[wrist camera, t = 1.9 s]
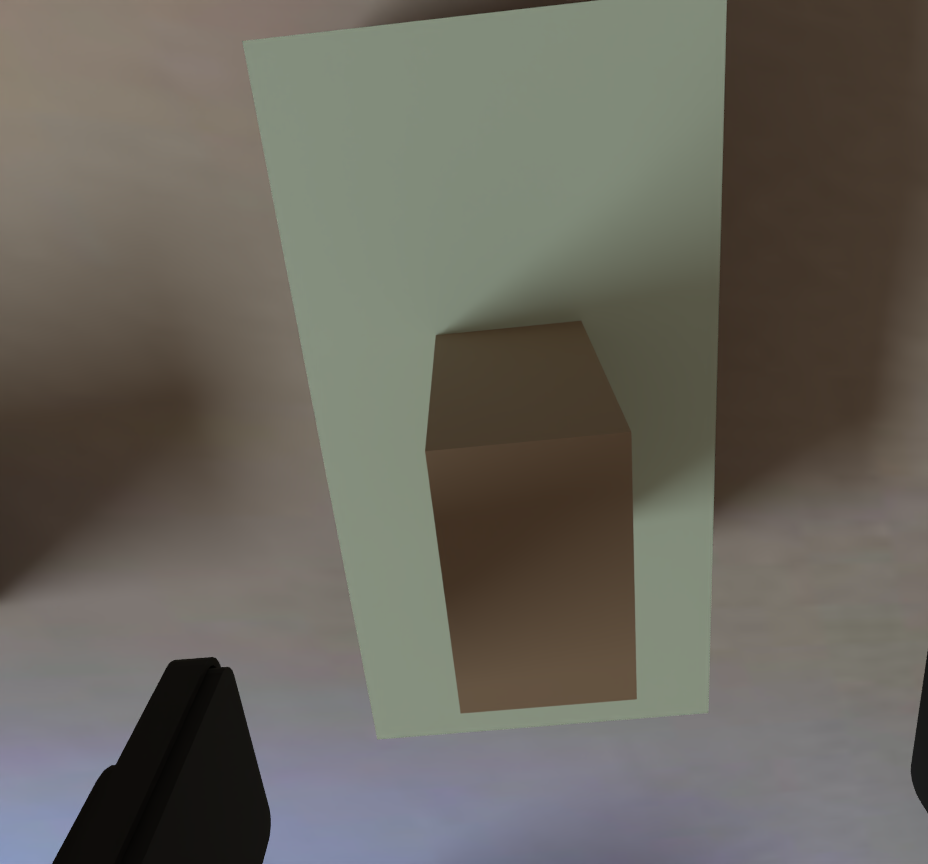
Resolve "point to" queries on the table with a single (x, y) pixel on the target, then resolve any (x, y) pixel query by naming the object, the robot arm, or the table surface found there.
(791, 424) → the table surface
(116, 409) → the table surface
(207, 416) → the table surface
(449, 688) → the lid
